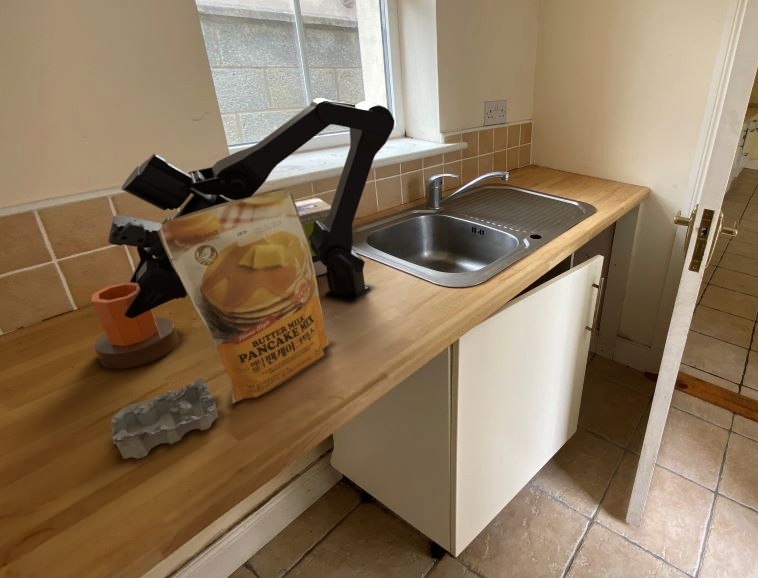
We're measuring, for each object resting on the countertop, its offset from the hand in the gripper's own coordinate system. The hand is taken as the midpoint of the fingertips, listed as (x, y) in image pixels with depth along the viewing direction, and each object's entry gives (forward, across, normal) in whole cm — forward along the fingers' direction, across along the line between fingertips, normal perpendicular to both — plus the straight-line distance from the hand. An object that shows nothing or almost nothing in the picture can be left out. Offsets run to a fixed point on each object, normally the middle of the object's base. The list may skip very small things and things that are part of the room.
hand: (128, 303), depth 71 cm
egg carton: (+5, +23, +8) cm, 24 cm away
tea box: (-14, -15, +26) cm, 33 cm away
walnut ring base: (+7, 0, +6) cm, 9 cm away
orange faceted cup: (+4, 0, +4) cm, 6 cm away
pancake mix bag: (-6, +18, +18) cm, 26 cm away
